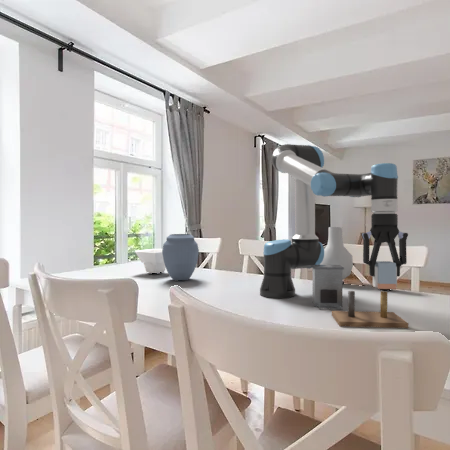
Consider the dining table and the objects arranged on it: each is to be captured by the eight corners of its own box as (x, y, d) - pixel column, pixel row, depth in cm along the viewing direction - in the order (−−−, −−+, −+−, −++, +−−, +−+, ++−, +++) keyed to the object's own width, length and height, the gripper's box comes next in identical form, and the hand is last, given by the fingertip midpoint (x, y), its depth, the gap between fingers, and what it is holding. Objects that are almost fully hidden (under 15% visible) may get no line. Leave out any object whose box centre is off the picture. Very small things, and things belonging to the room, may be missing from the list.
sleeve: (379, 288, 107) (379, 263, 107) (374, 285, 112) (373, 261, 112) (396, 289, 107) (395, 263, 107) (390, 286, 112) (390, 261, 112)
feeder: (315, 309, 125) (315, 268, 125) (311, 302, 135) (311, 264, 135) (346, 310, 124) (346, 268, 124) (339, 302, 134) (339, 264, 134)
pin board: (339, 326, 106) (339, 295, 106) (331, 315, 118) (331, 287, 117) (408, 328, 104) (408, 296, 103) (393, 316, 116) (393, 288, 115)
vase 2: (358, 285, 166) (358, 227, 166) (325, 286, 165) (325, 227, 164) (344, 279, 183) (344, 226, 182) (313, 280, 182) (313, 226, 181)
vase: (206, 278, 189) (205, 234, 188) (183, 284, 172) (182, 235, 172) (178, 275, 199) (178, 233, 198) (154, 281, 183) (154, 235, 182)
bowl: (156, 277, 194) (155, 252, 193) (132, 274, 204) (131, 250, 204) (178, 272, 209) (178, 249, 209) (154, 270, 220) (154, 248, 219)
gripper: (357, 213, 106) (358, 288, 107) (419, 212, 104) (420, 289, 105) (351, 213, 114) (352, 284, 114) (409, 212, 112) (409, 284, 112)
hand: (384, 286), depth 110 cm, fingers closed on sleeve, 5 cm apart
